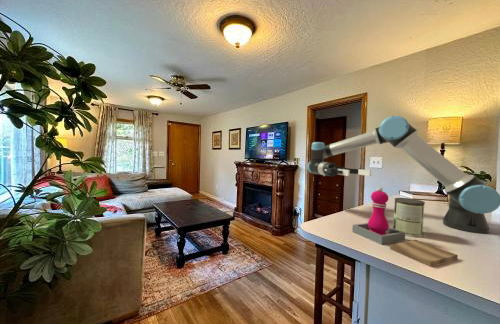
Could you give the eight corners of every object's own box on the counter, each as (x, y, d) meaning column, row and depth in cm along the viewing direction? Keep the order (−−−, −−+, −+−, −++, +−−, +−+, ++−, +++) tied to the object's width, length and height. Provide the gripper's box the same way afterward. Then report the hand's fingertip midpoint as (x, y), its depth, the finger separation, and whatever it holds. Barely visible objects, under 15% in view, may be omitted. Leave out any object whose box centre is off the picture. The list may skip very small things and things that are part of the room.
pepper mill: (387, 235, 85) (390, 187, 84) (388, 241, 79) (391, 189, 78) (367, 231, 89) (370, 185, 88) (366, 236, 82) (369, 187, 82)
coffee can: (388, 227, 94) (389, 197, 94) (411, 228, 93) (413, 198, 93) (402, 236, 84) (404, 202, 84) (429, 237, 83) (431, 203, 83)
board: (415, 243, 77) (415, 239, 77) (457, 259, 66) (457, 254, 65) (390, 248, 72) (390, 244, 72) (430, 266, 61) (430, 261, 60)
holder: (374, 228, 92) (374, 222, 92) (404, 240, 80) (405, 232, 80) (352, 231, 87) (352, 224, 87) (381, 244, 75) (381, 236, 75)
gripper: (344, 175, 121) (378, 180, 101) (309, 175, 112) (338, 181, 92) (345, 163, 121) (379, 165, 101) (310, 162, 112) (339, 164, 92)
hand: (359, 173), depth 96 cm, fingers open, 13 cm apart
